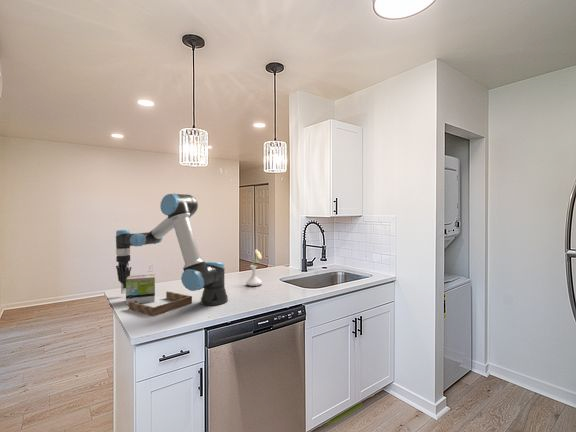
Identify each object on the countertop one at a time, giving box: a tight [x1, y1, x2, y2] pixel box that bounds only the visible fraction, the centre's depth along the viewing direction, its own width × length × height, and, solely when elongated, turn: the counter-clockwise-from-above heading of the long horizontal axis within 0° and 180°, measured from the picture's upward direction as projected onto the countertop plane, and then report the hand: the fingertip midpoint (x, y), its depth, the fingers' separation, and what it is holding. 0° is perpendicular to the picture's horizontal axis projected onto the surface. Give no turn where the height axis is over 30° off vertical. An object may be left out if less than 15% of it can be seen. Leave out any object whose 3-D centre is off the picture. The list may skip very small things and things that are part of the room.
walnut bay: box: [128, 291, 193, 317], centre depth 165 cm, size 21×24×4 cm
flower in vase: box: [245, 249, 263, 287], centre depth 211 cm, size 13×11×25 cm
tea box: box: [125, 273, 156, 306], centre depth 175 cm, size 15×10×15 cm, turn 114°
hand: (124, 293), depth 184 cm, fingers closed
